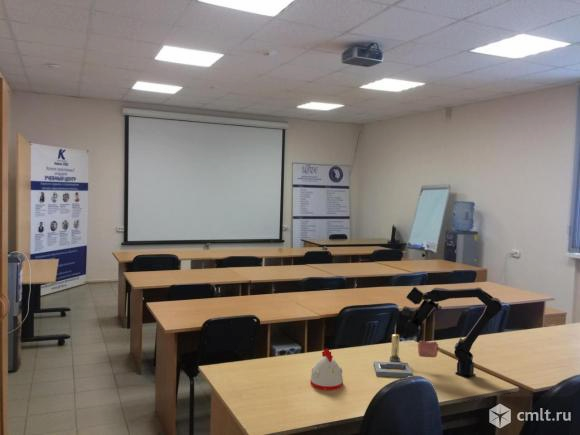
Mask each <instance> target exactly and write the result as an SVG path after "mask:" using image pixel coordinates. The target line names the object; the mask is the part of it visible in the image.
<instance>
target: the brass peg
mask: <svg viewBox="0 0 580 435" xmlns="http://www.w3.org/2000/svg"><path fill="white" fill-rule="evenodd" d="M399 352H400V334H397V333H393V334H391V353H390V354H391V356H390V357H389V362H399V363H401V357H399V356H400V355H399V354H400V353H399Z"/></svg>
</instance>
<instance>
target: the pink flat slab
mask: <svg viewBox="0 0 580 435" xmlns="http://www.w3.org/2000/svg"><path fill="white" fill-rule="evenodd" d="M417 350H418V351H417V353H418V356H419V357H424V358H436V357H437V356H438V342H437V341H427V340H419V341H418V342H417Z"/></svg>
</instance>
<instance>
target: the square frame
mask: <svg viewBox="0 0 580 435" xmlns="http://www.w3.org/2000/svg"><path fill="white" fill-rule="evenodd" d="M373 369H374V373H375V376H376V377H394V378H409V377H408V376H412V377H413V370H412V369H411V367H410V365H409V363H408V362H390V361H376V360H375V361H373ZM389 369H391V370H389ZM392 369H395V370H392ZM396 369H401V370H396Z"/></svg>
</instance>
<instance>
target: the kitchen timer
mask: <svg viewBox="0 0 580 435" xmlns="http://www.w3.org/2000/svg"><path fill="white" fill-rule="evenodd" d="M321 355H322V357H321V358H319V359H318V360H317V361H316V363H315V364H314V366H313V367H311V375H310V385H311V386H312V387H313V388H314V389H317V388H318V389H317V390H321V391H336V390H338V389H341V388H342V387H343V386H344V385H343V384H344V379H343V368H342V367H341V366H340V365H339V364H338V362H337V360H335V358H333V357H334V355H332V351H330V349H328V348H325V349H324V350H323V351H321Z"/></svg>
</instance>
